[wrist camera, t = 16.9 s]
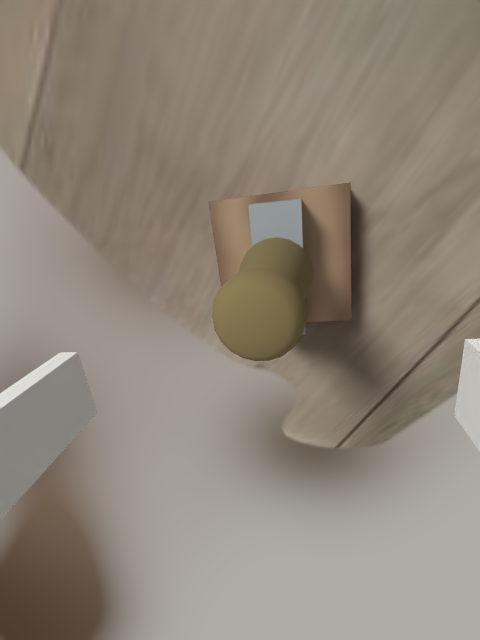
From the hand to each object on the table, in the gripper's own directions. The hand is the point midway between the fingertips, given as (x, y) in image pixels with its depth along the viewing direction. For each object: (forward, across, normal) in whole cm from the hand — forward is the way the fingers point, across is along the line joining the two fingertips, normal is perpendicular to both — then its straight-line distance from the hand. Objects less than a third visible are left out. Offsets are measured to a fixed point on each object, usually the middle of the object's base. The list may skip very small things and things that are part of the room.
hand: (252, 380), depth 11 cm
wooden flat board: (+24, 0, 0) cm, 24 cm away
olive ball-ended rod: (+17, 0, 0) cm, 17 cm away
